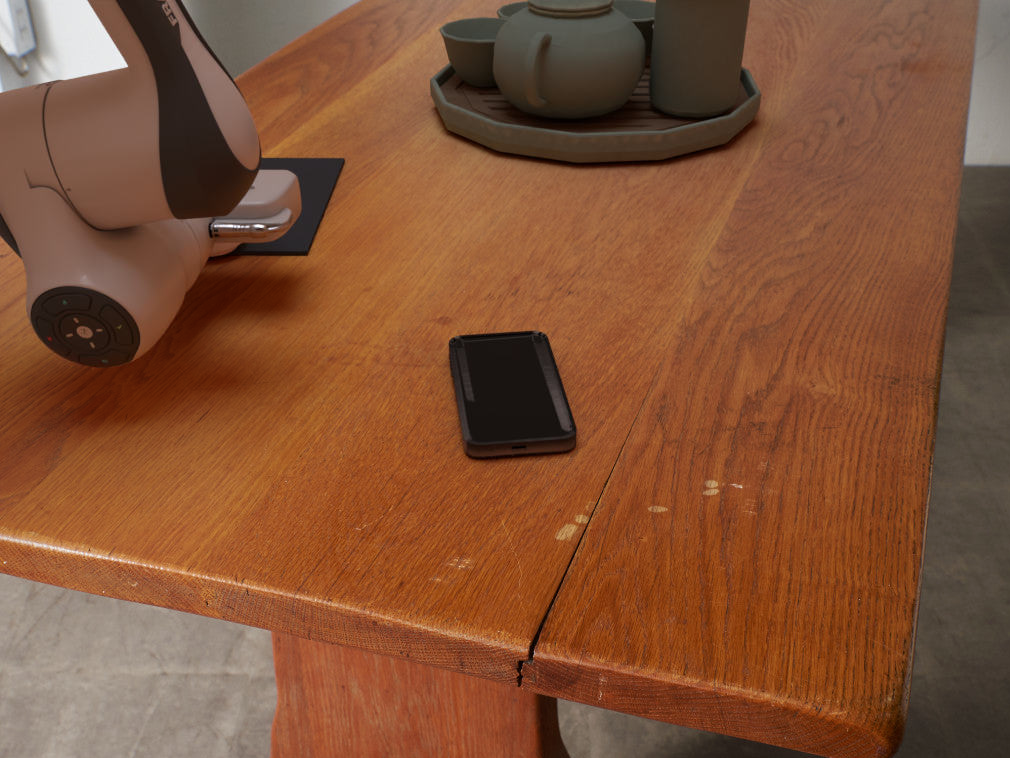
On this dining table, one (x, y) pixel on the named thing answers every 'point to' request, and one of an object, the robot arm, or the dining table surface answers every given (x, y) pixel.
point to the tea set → (599, 78)
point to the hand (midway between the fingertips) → (198, 168)
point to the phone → (510, 395)
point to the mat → (315, 195)
